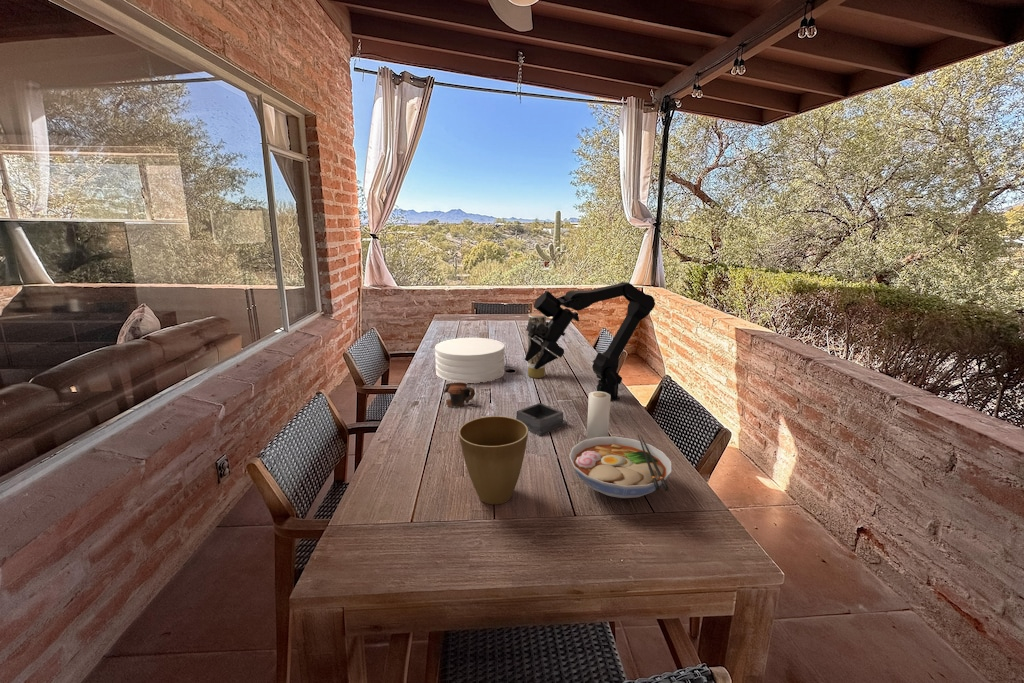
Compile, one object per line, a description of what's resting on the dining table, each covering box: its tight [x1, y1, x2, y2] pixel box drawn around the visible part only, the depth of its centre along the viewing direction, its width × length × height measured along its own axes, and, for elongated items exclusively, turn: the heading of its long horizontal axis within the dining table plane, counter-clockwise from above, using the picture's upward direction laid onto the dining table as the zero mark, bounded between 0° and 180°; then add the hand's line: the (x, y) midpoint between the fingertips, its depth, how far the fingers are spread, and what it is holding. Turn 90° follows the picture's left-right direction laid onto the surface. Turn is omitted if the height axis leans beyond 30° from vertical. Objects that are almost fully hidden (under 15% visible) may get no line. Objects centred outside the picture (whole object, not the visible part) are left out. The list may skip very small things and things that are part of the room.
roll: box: [586, 390, 611, 440], centre depth 128 cm, size 6×6×13 cm
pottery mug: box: [443, 382, 476, 407], centre depth 155 cm, size 12×10×8 cm
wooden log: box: [527, 312, 547, 379], centre depth 180 cm, size 7×7×25 cm
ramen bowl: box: [568, 434, 673, 499], centre depth 104 cm, size 25×23×8 cm
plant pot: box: [458, 415, 529, 505], centre depth 100 cm, size 15×15×16 cm
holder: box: [516, 402, 569, 437], centre depth 138 cm, size 12×12×4 cm
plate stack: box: [434, 337, 505, 384], centre depth 187 cm, size 28×28×12 cm
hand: (530, 364), depth 149 cm, fingers open, 9 cm apart
